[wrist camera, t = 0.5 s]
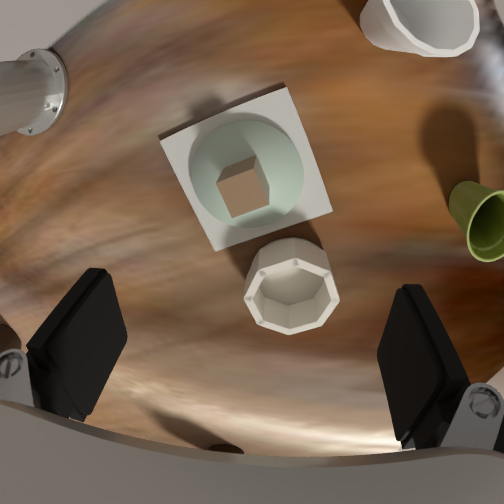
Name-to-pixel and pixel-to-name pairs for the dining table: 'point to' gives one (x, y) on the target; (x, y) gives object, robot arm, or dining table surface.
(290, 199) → the lid
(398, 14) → the foam cup
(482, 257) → the plant pot
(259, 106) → the mat
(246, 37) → the dining table surface
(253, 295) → the bowl
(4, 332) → the plant pot
